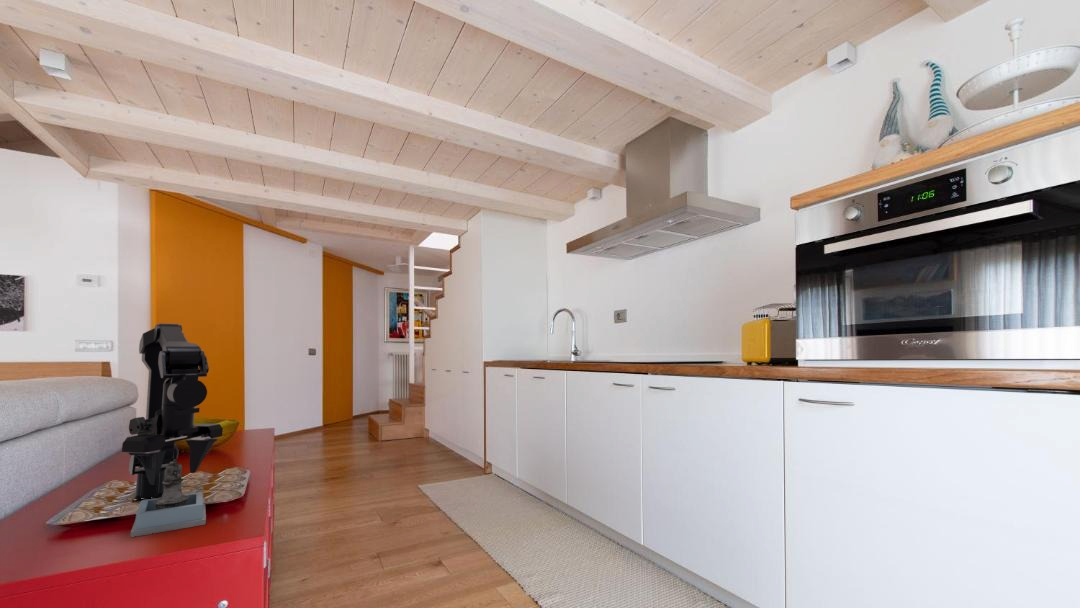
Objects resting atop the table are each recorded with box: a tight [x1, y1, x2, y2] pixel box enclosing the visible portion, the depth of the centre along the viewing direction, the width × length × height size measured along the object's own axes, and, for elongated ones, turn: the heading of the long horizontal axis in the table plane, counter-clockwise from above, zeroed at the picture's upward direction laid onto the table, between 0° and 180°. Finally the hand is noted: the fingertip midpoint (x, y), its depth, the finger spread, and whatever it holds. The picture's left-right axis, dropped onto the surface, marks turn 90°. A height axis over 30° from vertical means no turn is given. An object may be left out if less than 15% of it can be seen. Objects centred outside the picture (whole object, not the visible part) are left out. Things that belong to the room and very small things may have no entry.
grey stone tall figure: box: [154, 459, 189, 510], centre depth 102 cm, size 6×6×12 cm
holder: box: [130, 491, 207, 538], centre depth 102 cm, size 12×12×4 cm
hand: (173, 478), depth 102 cm, fingers open, 9 cm apart
